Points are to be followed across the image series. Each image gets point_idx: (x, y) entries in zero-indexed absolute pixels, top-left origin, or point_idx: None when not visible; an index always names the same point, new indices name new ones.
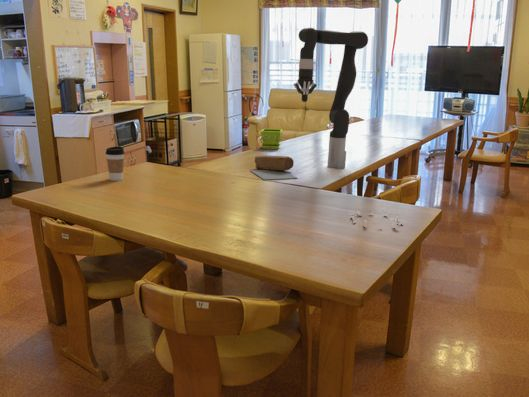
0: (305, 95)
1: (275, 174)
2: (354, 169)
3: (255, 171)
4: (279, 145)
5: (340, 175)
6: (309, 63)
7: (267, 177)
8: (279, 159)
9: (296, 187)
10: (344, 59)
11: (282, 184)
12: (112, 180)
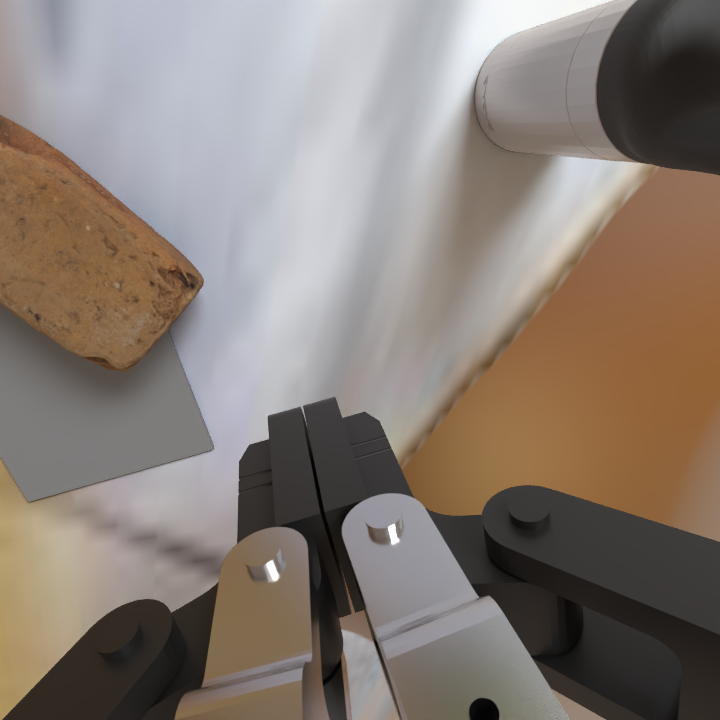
0: (347, 599)
1: (88, 387)
2: (608, 172)
3: None
4: None
5: (461, 344)
6: None
7: (43, 462)
8: (88, 359)
9: (191, 589)
10: None
11: (129, 555)
12: None
